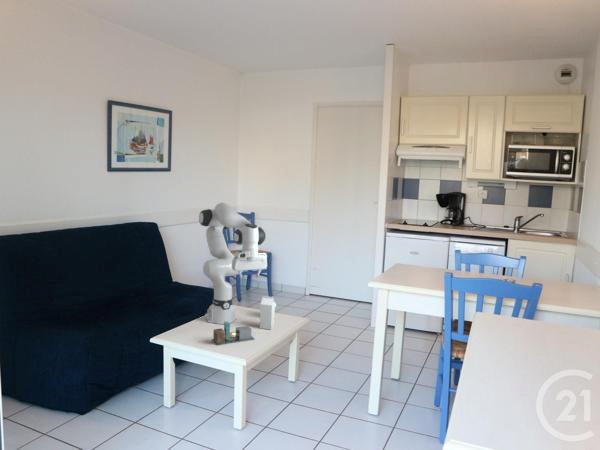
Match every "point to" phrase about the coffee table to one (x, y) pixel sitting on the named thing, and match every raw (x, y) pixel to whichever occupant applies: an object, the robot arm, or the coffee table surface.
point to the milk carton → (267, 312)
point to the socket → (219, 335)
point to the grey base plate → (243, 336)
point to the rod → (227, 331)
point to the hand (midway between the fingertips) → (249, 277)
